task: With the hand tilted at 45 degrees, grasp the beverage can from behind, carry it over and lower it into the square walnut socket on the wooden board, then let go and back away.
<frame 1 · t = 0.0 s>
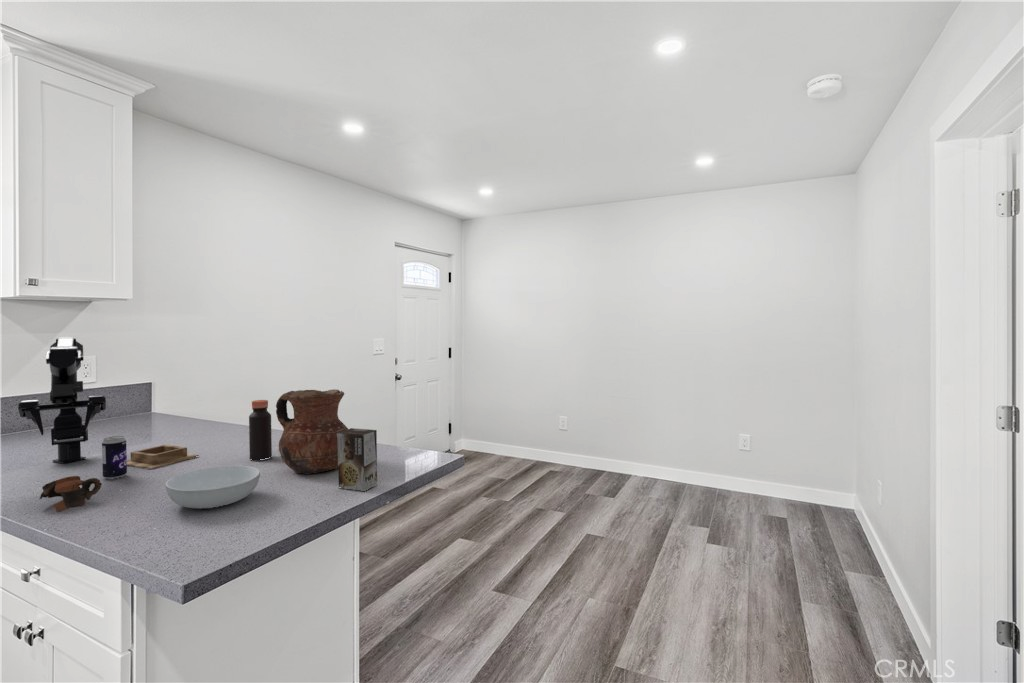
hand: (64, 432, 140), 15 cm above the table, tool tilted 35°, fingers open, 9 cm apart
socket board: (159, 460, 164), on the table
coffee box: (358, 487, 138), on the table
bottle: (260, 459, 167), on the table
jug: (316, 468, 156), on the table
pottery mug: (72, 505, 125), on the table
beverage can: (115, 477, 146), on the table
serving bowl: (215, 503, 126), on the table
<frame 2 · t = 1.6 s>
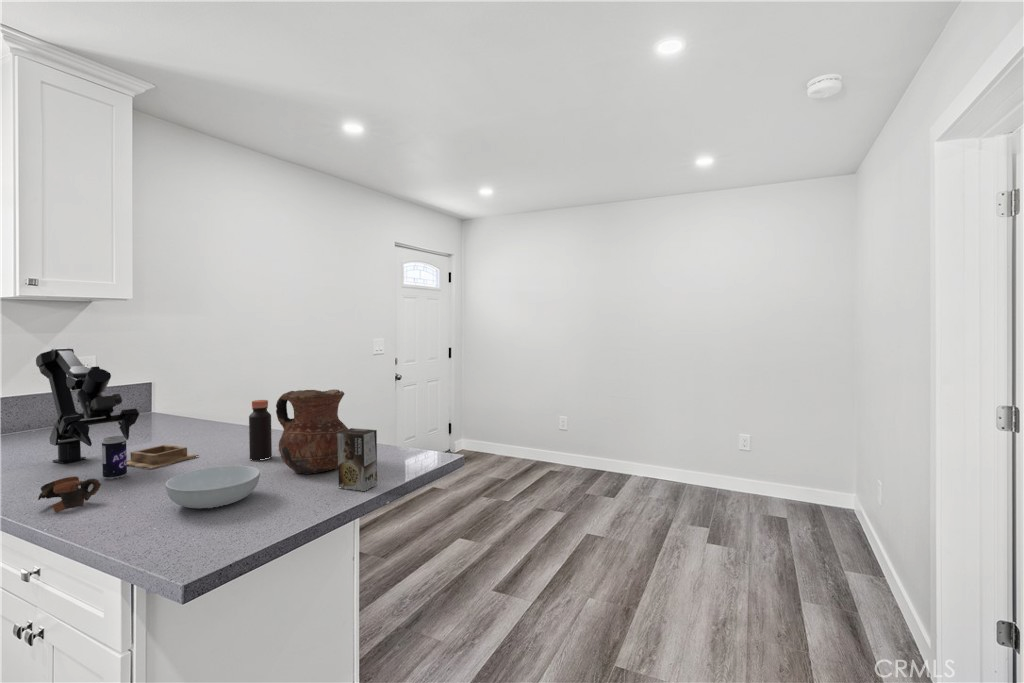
hand: (109, 442, 148), 10 cm above the table, tool tilted 45°, fingers open, 9 cm apart
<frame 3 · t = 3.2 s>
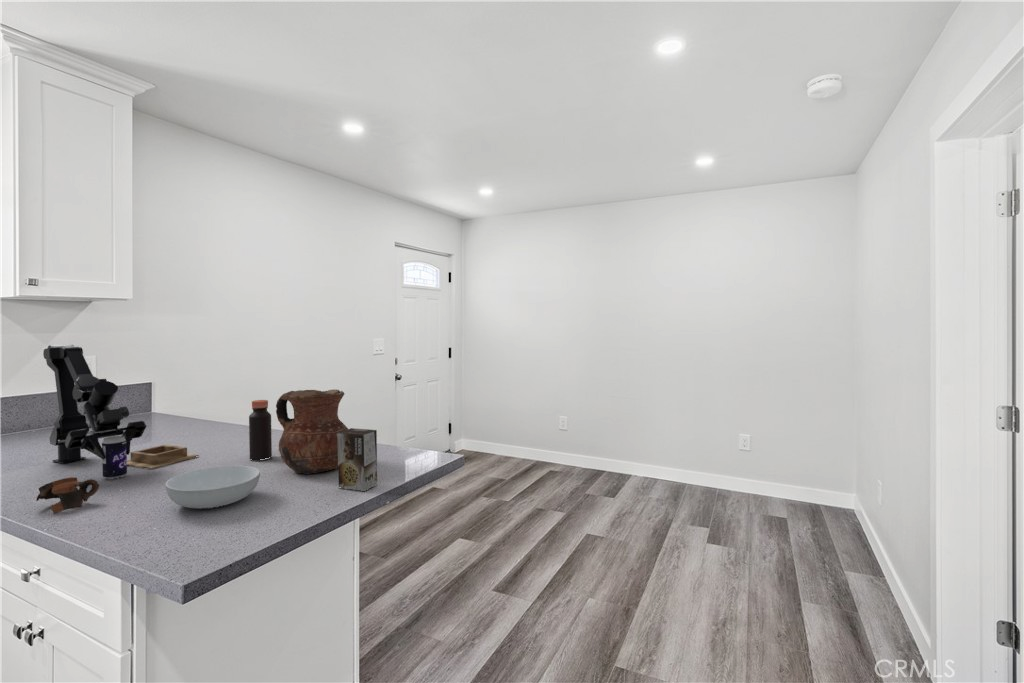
hand: (116, 456, 146), 7 cm above the table, tool tilted 45°, fingers closed on beverage can, 6 cm apart
beverage can: (115, 477, 146), on the table, touching gripper
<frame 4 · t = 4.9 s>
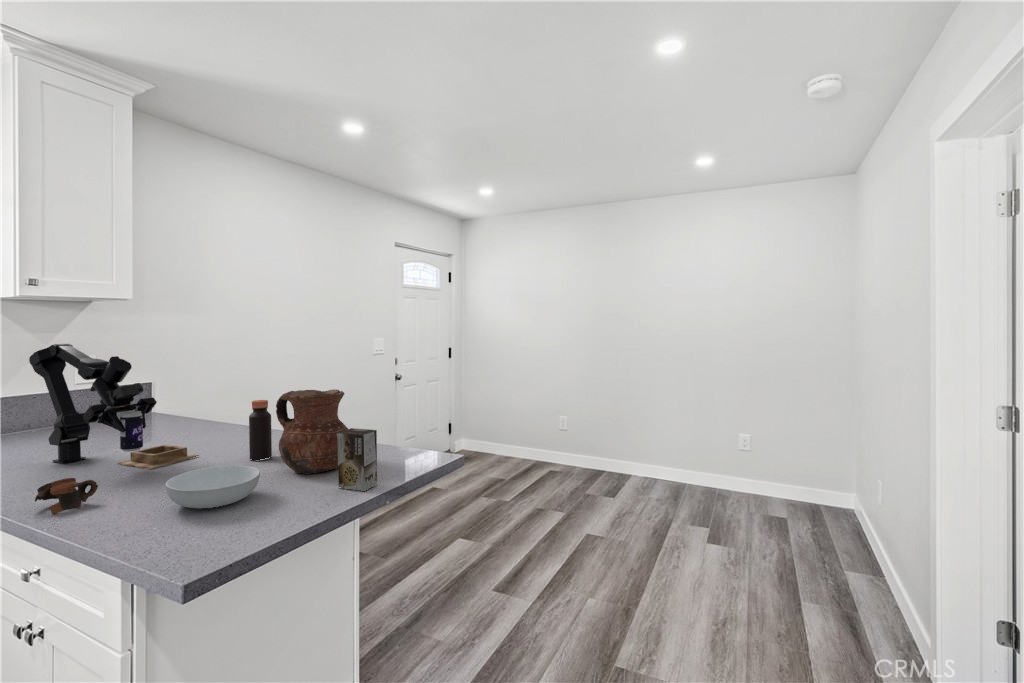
hand: (134, 429, 153), 13 cm above the table, tool tilted 45°, fingers closed on beverage can, 6 cm apart
beverage can: (131, 450, 153), point 6 cm above the table, touching gripper
when the fingers open (8 cm above the table, at t = 7.0 s): beverage can stays where it is, resting on socket board.
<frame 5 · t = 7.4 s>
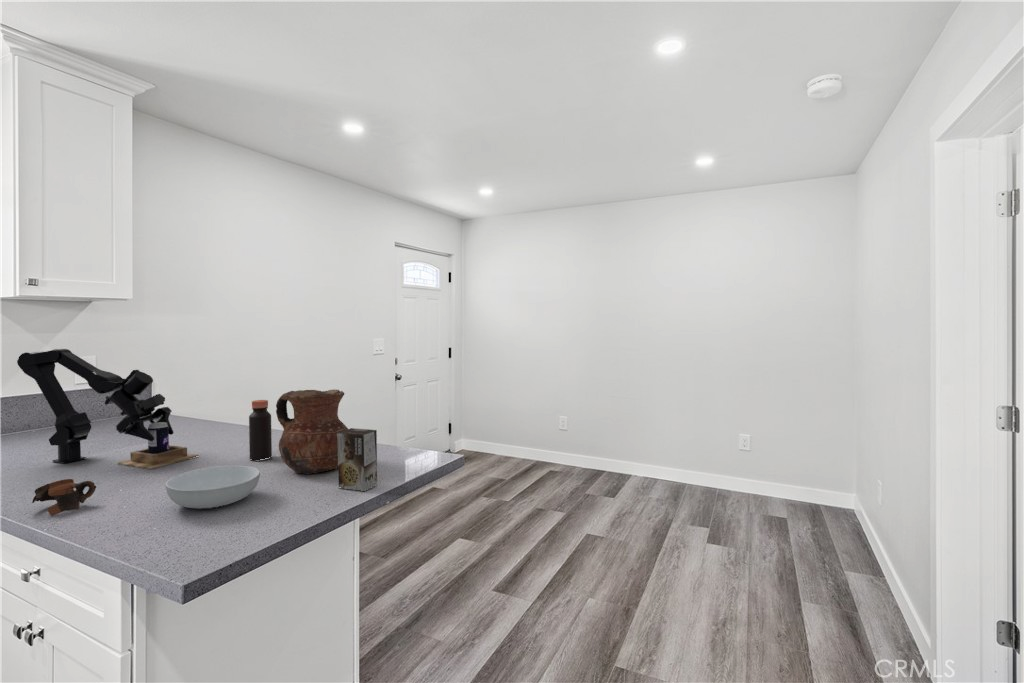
hand: (163, 436, 164), 8 cm above the table, tool tilted 45°, fingers open, 9 cm apart
beverage can: (158, 459, 164), resting on socket board
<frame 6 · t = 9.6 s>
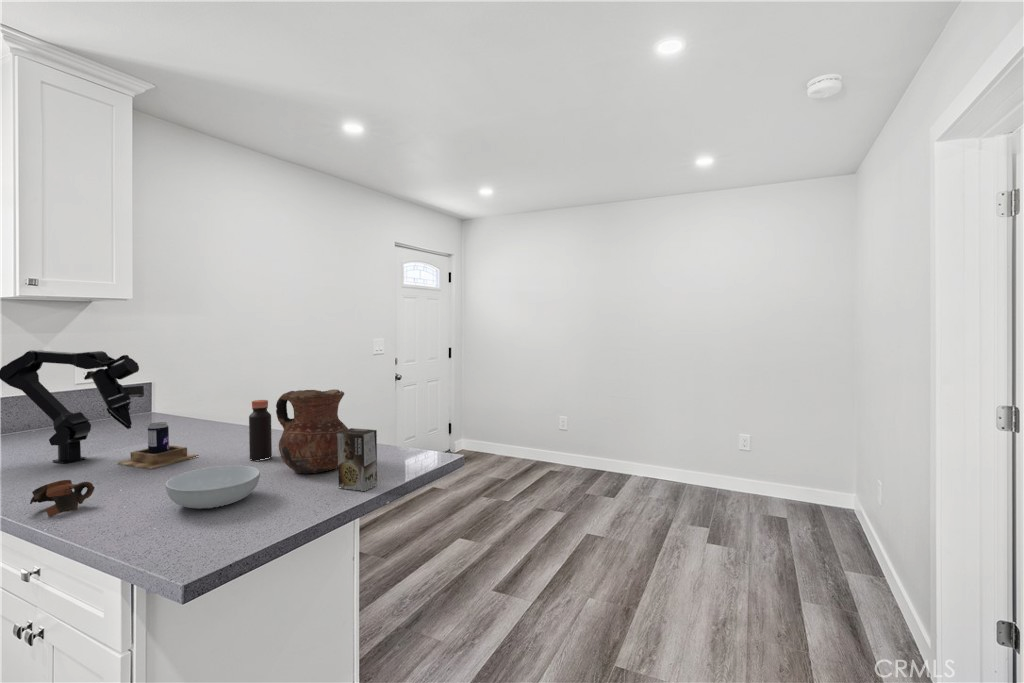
hand: (129, 426, 164), 11 cm above the table, tool tilted 25°, fingers open, 9 cm apart
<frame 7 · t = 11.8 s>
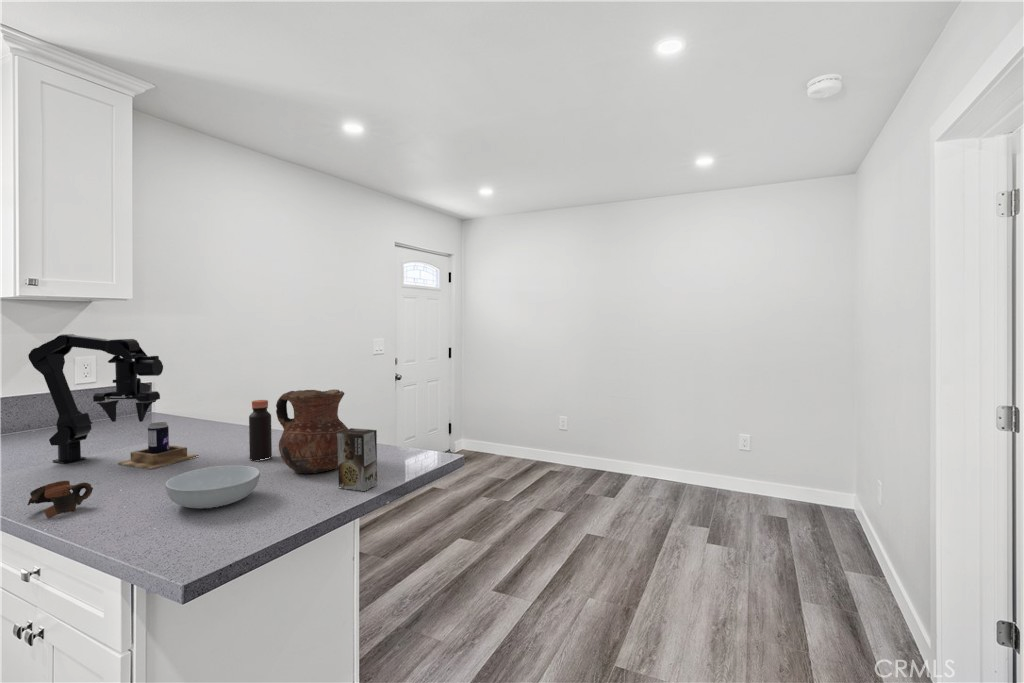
hand: (127, 421, 165), 13 cm above the table, tool pointing down, fingers open, 9 cm apart
at the end: beverage can 0.2 cm off-centre on the socket board, point 0.4 cm above the socket board's base; beverage can tilted 0°; the gripper is holding nothing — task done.
